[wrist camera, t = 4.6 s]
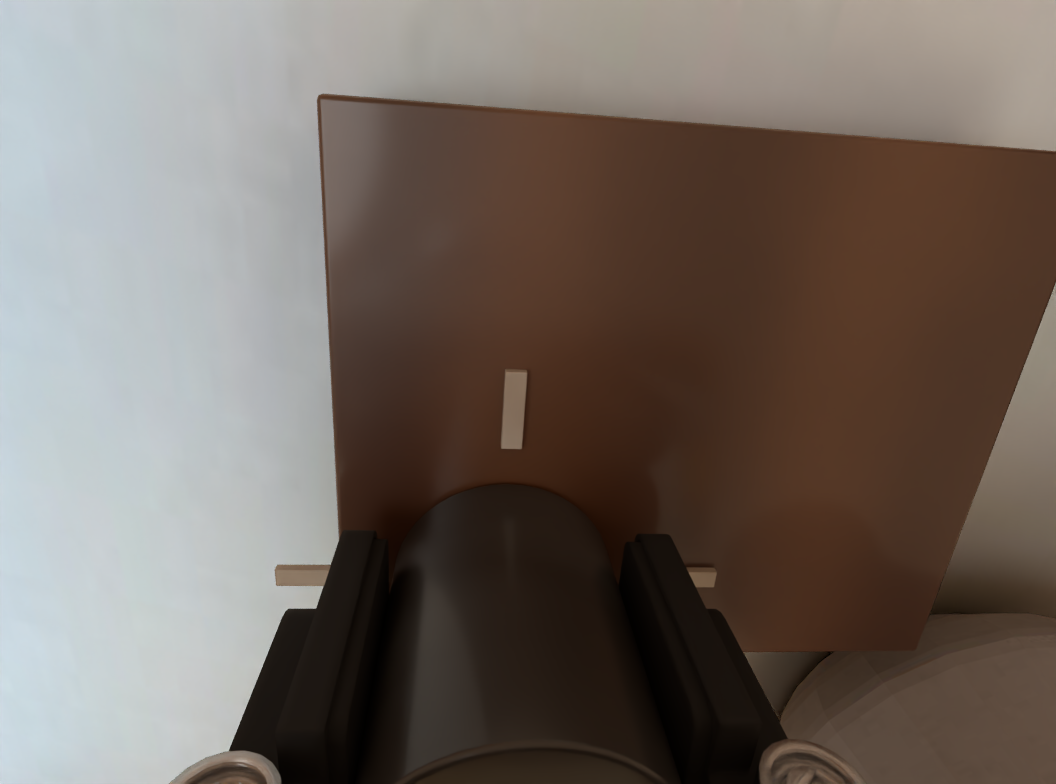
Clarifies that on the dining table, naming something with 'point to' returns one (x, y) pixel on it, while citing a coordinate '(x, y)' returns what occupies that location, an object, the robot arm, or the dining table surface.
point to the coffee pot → (940, 704)
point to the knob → (509, 654)
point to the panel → (684, 342)
